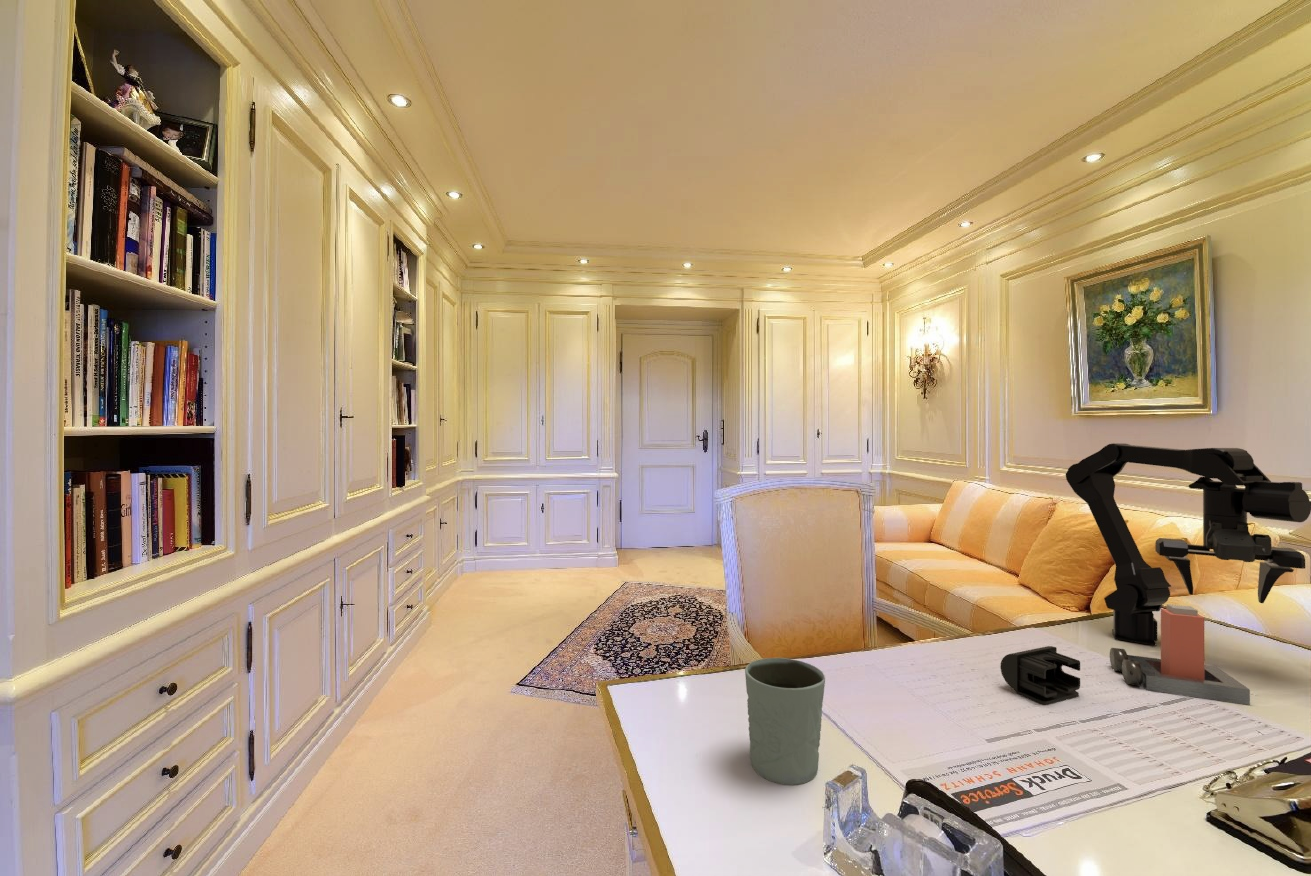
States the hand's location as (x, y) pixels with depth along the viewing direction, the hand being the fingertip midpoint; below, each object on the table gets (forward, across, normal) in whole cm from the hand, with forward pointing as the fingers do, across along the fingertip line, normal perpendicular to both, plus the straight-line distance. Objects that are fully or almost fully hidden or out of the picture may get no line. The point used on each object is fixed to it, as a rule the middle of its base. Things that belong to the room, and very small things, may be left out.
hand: (1225, 598), depth 102 cm
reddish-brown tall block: (+13, -8, -14) cm, 21 cm away
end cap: (+13, -28, -32) cm, 45 cm away
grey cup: (+13, -55, -77) cm, 96 cm away
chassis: (+13, -9, -15) cm, 22 cm away
